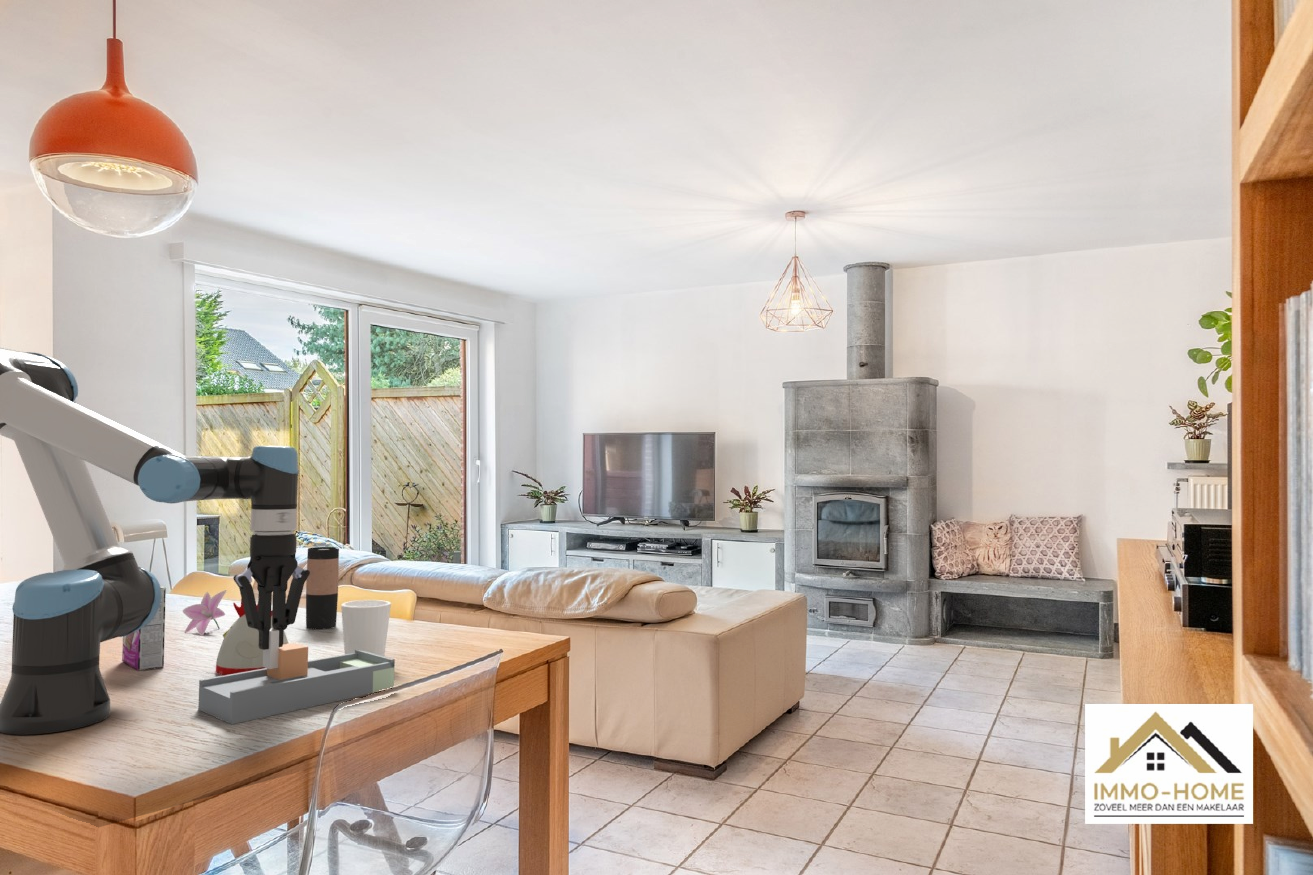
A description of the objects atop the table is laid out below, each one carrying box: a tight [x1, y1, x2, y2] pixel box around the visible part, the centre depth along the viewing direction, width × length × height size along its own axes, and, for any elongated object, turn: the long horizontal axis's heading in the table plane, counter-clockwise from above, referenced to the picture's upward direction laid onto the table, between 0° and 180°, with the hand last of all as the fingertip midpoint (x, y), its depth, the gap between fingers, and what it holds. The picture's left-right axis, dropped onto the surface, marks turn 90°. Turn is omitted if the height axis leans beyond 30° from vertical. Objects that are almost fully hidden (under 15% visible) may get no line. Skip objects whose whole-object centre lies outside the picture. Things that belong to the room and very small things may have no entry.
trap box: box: [197, 650, 396, 725], centre depth 154 cm, size 30×12×6 cm, turn 141°
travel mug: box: [305, 546, 340, 630], centre depth 220 cm, size 8×8×20 cm
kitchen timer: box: [215, 598, 290, 676], centre depth 175 cm, size 14×14×15 cm
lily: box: [182, 589, 227, 636], centre depth 212 cm, size 12×12×10 cm
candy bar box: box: [121, 585, 167, 672], centre depth 177 cm, size 11×5×16 cm, turn 47°
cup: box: [340, 599, 392, 657], centre depth 180 cm, size 10×10×13 cm
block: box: [267, 642, 309, 680], centre depth 154 cm, size 5×5×5 cm
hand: (270, 666), depth 152 cm, fingers closed
